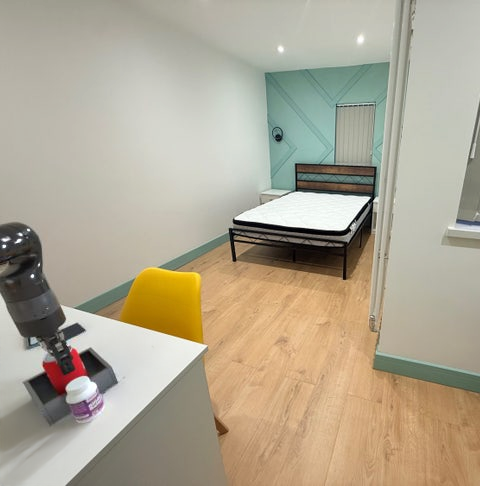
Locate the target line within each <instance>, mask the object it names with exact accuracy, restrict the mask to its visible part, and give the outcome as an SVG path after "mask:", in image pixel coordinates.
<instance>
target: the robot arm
mask: <svg viewBox="0 0 480 486" xmlns="http://www.w3.org/2000/svg"><path fill="white" fill-rule="evenodd" d="M4 263H7V264H6V266H5V268H4V269H3V270H1V271H0V297H1V298H2V300H3V301H4V304H5V307H6V310H7V313H8V314H9V316H10V318H11V320H12V322H13V324H14V325H15V327H16V329H17V331H18V333H19V334H20V336H21V337H23V338H26V339H27V338H32V337H35V338H36V340H37V342H38V343H39V344H40V345H39V346H40V347H41V349H44V351H45V352H46V354H48V355H49V356H50V357H53V358H54V359H55V361H56V362H55V363H56V364H58V366H59V368H60V370H61V372H62V374H63V375H67V374H69V373H71V372H73V371H74V370H75V367H74V365H73V363H72V359H73V356H72V355H71V353H70V350H69V346H70V345H69V344H68V342H67V340H66V341H65V339H64V335H63V333H62V331H60V330H61V329H60V327H62V326H64V324H65V323H66V321H67V317H66V315H65V312H64V310H63V307H62V306H61V303H60V301H59V299H58V297H57V295H56V293H55V292H54V291H53V289H52V288H51V286H50V283H49V281H48V279H47V277H46V275H45V272H44V258H43V245H42V241H41V238H40V236H39V234H38V232H37V231H36V230H35V229H34V228H32V227H31V226H30V225H28V224H26V223H24V222H19V221H8V222H4V223H1V224H0V265H2V264H4ZM68 345H69V346H68ZM51 351H52V352H51ZM64 355H65V356H64ZM62 356H63V357H62ZM60 357H61V358H60Z"/></svg>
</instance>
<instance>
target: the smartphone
mask: <svg viewBox="0 0 480 486" xmlns="http://www.w3.org/2000/svg"><path fill="white" fill-rule="evenodd" d="M26 344H27V348H28V349H34V348H37V347H38V346H41V345H40V344H39V343H38V342H37V340H36V338H35V337H32V338H26Z"/></svg>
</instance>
